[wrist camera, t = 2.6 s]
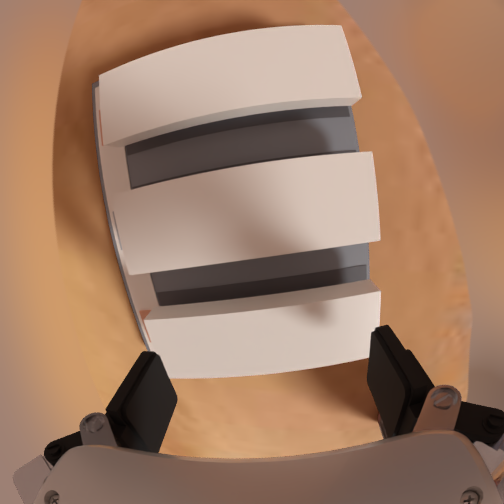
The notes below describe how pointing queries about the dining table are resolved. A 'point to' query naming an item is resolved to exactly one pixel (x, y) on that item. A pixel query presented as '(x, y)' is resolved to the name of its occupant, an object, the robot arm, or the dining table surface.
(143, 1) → the dining table surface
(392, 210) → the dining table surface
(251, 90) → the switch
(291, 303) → the switch
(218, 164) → the switch board
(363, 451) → the robot arm
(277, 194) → the middle switch
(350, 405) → the dining table surface
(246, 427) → the dining table surface
